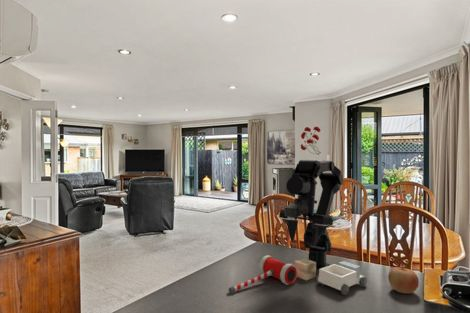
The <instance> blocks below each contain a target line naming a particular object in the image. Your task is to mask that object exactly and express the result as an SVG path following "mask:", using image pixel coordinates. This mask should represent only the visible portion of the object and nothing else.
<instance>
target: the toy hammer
mask: <svg viewBox="0 0 470 313" xmlns="http://www.w3.org/2000/svg"><path fill="white" fill-rule="evenodd" d="M259 272H260V273H261V274H259V275H257V276H256V277H253V278H251V279H249V280H247V281H244V282H242V283H239V284H238V285H235V286H231V287H228V293H229V294H231V295H234V294H236V292H238V291H239V290H242V289H244V288H246V287H248V286H251V285H253V284H256V283H257V282H260V281H262V280H263V279H265V278H267V277H270V276H271V277H273V278H275V279H277V280H280V281H281V283H282V284H283V285H286V286H288V285H289V286H290V285H292V284H294V283H295V281H297V280H296V279H297V278H298V277H297V268H296V267H295V264H292V263H285V262H282V261H280V260H278V259H275V258H274V257H273V256H271V255H269V254H266V255H265V256H263V257H262V258H261V259H260V261H259Z"/></svg>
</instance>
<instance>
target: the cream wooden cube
mask: <svg viewBox="0 0 470 313" xmlns="http://www.w3.org/2000/svg"><path fill="white" fill-rule="evenodd" d="M294 266H295V267H296V268H297V277H296V278H299V279H301V280H305V281H308V280H312V279H314V278H316V277H317V268H316V262H314V261H311V260H309V258H308V259H307V258H301V259H300V258H299V259H297V260H294Z"/></svg>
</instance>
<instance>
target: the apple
mask: <svg viewBox="0 0 470 313" xmlns="http://www.w3.org/2000/svg"><path fill="white" fill-rule="evenodd" d="M400 266H401V267H399V266H395V267H392V268H391V269H390V271H389V272H388V277H387V278H388V282H389V284H390V287H391V288H392V289H393V290H395V292H398V293H400V294H412V293H414V292H416V290H417V289H418V288H419V284H420V283H419V281H420V280H419V277H418V276H417V274H416V272H415V271H413V270H412V269H409V268H404V267H403V264H401V265H400Z"/></svg>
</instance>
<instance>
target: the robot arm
mask: <svg viewBox="0 0 470 313" xmlns="http://www.w3.org/2000/svg"><path fill="white" fill-rule="evenodd" d="M343 176H344V175H343V173H342V171H341V170H340V168H338V167H337V166H336V164H335V162H334V161H333V160H321V161H319V160H312V159H311V160H309V159H301V160H300V159H299V161H298V163H297V164H296V166H295V168H294V170H293V172H292V174H291V177H289V178H288V180H287V182H286V186H285V187H286V190H287V192H288V193H289V194H290V195H295V196H297V198H294V200H293V203H289V204H287V205H285V206H283V208H284V209H280V211H279V214H278V218H281V221H283V222H284V223H285V224H286V227H287V230H288V234H289V238H290V241H294V240H295V238H296V233H297V229H298V223H299V220H304V221H309V222H308V223H307V224H306V225H307V226H306V229H305V231H304V234H303V244H304V248H305V249H308V260H311V261H314V262H316V270H317V269H318V270H319V269H321V268H324V267H327V266H330V264H329V263H327V253H329V252H331V251H332V242H331V238H330V237H329V232H328V229H327V228H330V226H333V224H334V222H333V221H334V219H333V218H332V216H330V212H331V208H332V205H333V201H334V198H335V194H336V193H338V192H339V191H340V190H341V187H342V185H343V183H344V177H343ZM317 178H319V182H320V186H321V189H322V191H321V194H320V197H319V200H316V199H315V198H316V189H317V188H316V187H317V185H318V182H317ZM315 204H318V205H317V207H316V208H317V209H316V211H315ZM298 219H299V220H298Z"/></svg>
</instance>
